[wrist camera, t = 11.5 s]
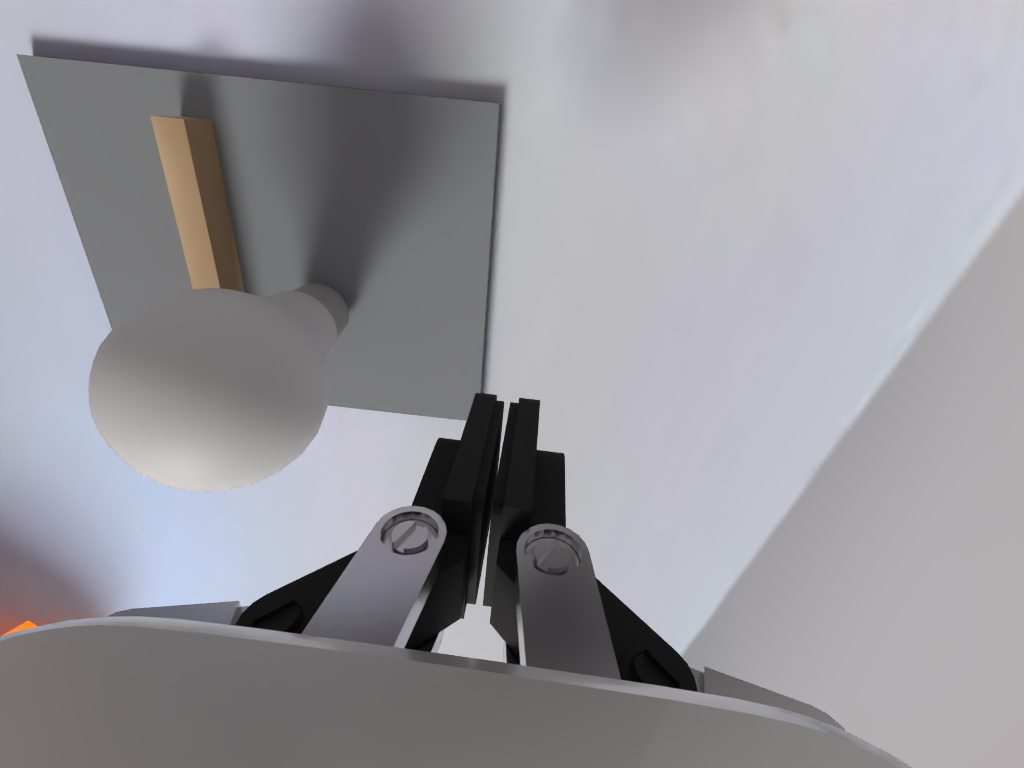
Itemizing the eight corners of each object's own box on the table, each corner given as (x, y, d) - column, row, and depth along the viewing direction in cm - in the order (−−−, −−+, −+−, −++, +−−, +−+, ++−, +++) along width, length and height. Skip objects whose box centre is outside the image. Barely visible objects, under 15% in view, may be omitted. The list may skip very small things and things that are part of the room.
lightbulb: (348, 212, 19) (152, 294, 10) (418, 340, 22) (316, 505, 12) (233, 267, 21) (-38, 385, 11) (310, 381, 23) (144, 557, 14)
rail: (250, 398, 25) (225, 421, 23) (190, 116, 19) (150, 115, 17) (272, 400, 25) (249, 423, 23) (220, 119, 19) (183, 119, 17)
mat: (139, 377, 25) (130, 383, 24) (32, 56, 18) (16, 54, 17) (479, 415, 24) (478, 421, 24) (500, 103, 18) (499, 103, 17)
